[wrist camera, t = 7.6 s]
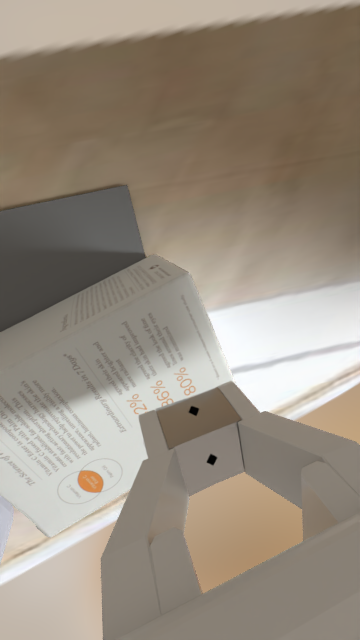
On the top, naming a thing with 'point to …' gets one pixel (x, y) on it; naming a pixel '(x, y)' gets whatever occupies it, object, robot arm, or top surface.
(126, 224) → the mat
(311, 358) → the top surface
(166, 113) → the top surface
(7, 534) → the soap bottle
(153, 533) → the robot arm
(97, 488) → the small box
